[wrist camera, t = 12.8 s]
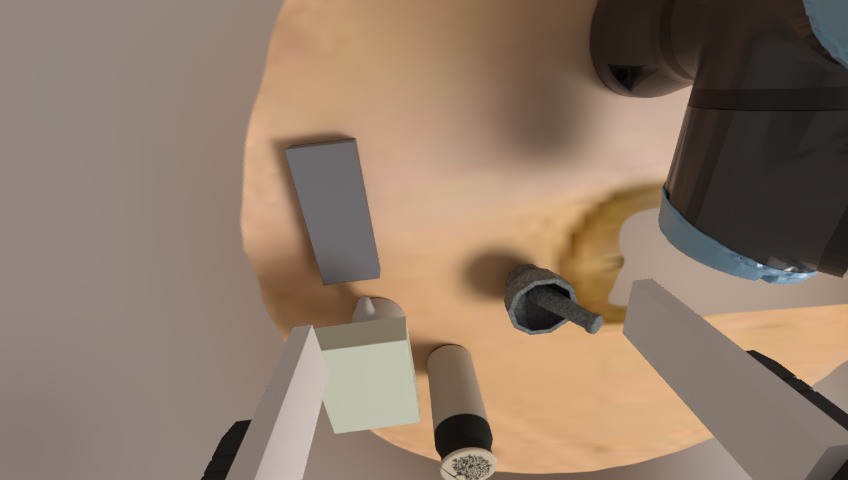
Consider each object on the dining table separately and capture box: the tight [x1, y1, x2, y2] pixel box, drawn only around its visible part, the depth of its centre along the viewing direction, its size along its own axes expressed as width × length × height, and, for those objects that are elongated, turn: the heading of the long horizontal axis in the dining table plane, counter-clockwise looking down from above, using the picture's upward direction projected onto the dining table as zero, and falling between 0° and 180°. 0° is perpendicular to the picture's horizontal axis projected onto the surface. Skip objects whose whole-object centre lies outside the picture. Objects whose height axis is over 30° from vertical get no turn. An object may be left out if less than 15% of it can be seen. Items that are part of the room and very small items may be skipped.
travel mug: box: [427, 345, 497, 480], centre depth 49 cm, size 8×8×18 cm
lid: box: [314, 316, 420, 434], centre depth 40 cm, size 11×14×4 cm
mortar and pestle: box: [504, 264, 603, 335], centre depth 46 cm, size 11×9×12 cm
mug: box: [351, 296, 404, 323], centre depth 47 cm, size 12×8×11 cm
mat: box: [285, 139, 380, 285], centre depth 43 cm, size 8×19×2 cm, turn 6°
